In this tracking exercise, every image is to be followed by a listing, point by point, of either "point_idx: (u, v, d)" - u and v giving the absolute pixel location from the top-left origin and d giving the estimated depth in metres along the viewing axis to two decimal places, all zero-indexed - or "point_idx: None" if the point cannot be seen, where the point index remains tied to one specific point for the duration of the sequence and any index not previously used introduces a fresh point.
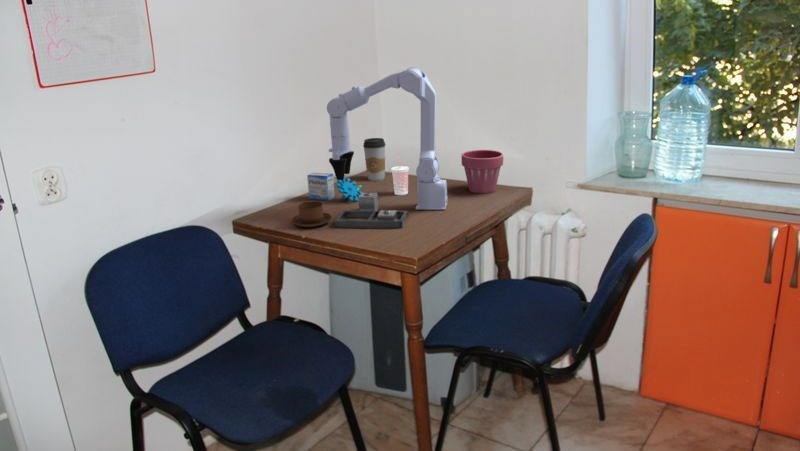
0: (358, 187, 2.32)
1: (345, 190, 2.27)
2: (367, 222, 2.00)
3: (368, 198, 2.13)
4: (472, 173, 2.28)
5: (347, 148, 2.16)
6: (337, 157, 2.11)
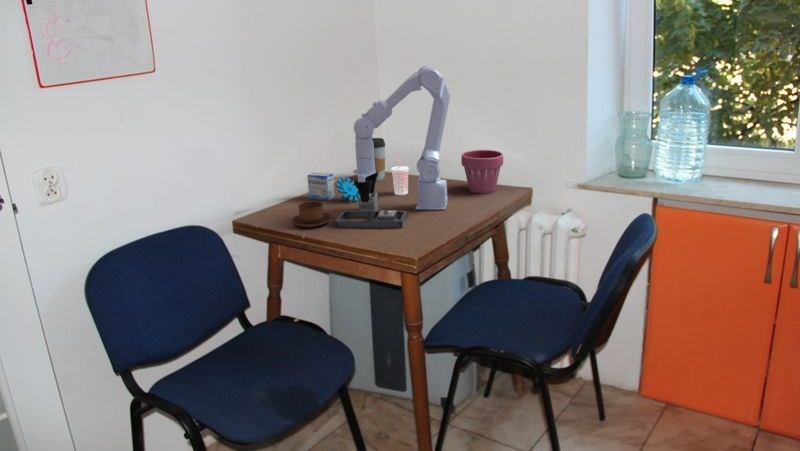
0: None
1: (345, 190, 2.27)
2: (367, 222, 2.00)
3: None
4: (472, 173, 2.28)
5: (372, 170, 2.11)
6: (363, 179, 2.06)
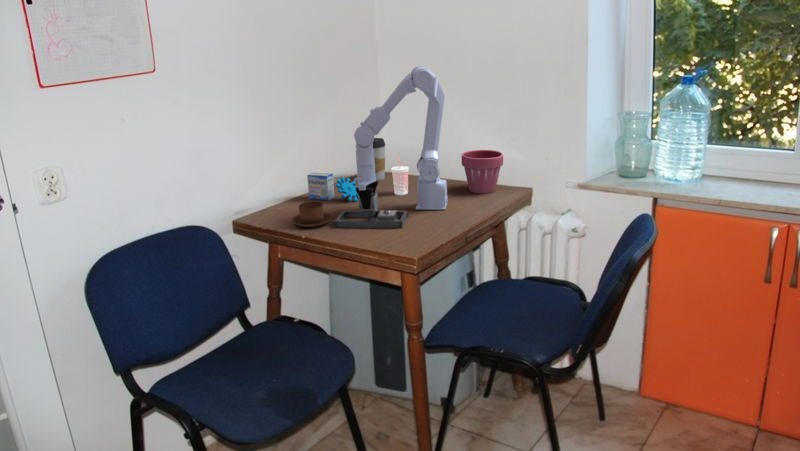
0: None
1: (344, 190, 2.27)
2: (367, 222, 2.00)
3: None
4: (472, 173, 2.28)
5: (373, 178, 2.12)
6: (363, 187, 2.07)
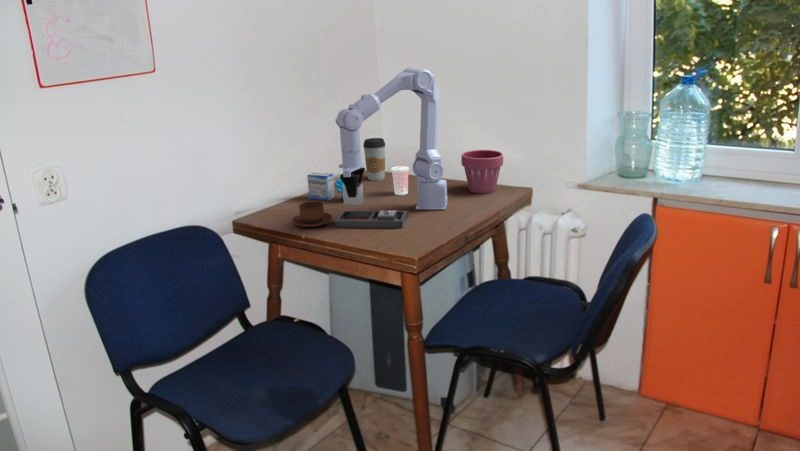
0: None
1: None
2: (367, 222, 2.00)
3: None
4: (472, 173, 2.28)
5: (359, 164, 1.99)
6: (348, 174, 1.95)
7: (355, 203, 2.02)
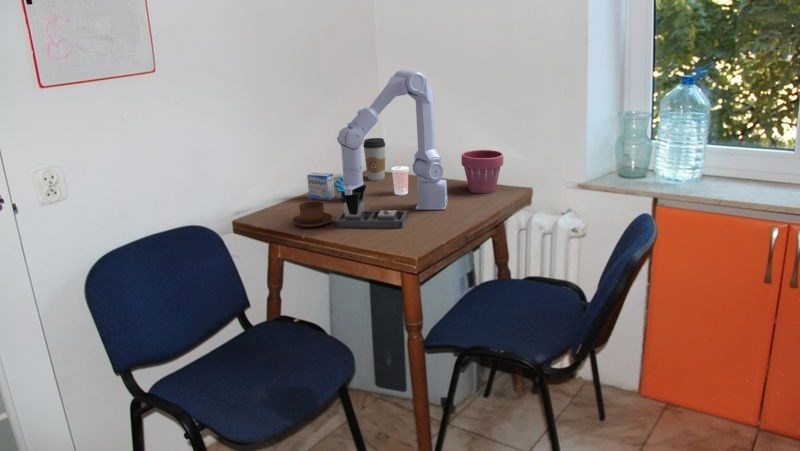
0: None
1: (343, 190, 2.28)
2: (367, 222, 2.00)
3: None
4: (472, 173, 2.28)
5: (360, 181, 2.01)
6: (349, 192, 1.96)
7: None
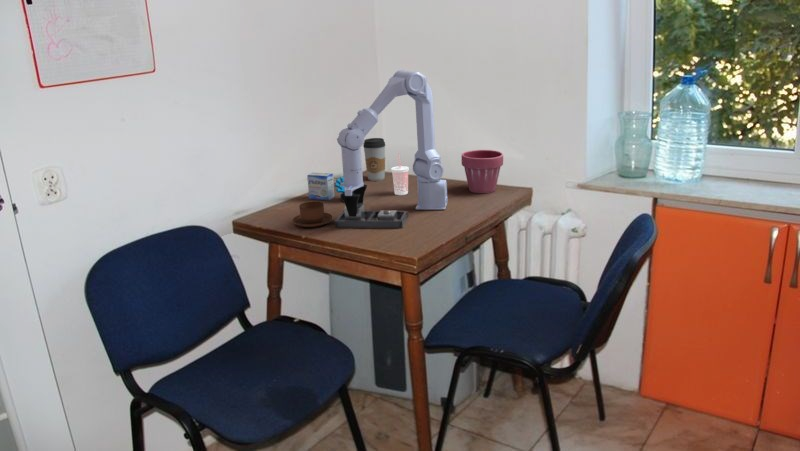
0: None
1: (343, 190, 2.28)
2: (367, 222, 2.00)
3: None
4: (472, 173, 2.28)
5: (360, 182, 2.01)
6: (350, 193, 1.96)
7: None
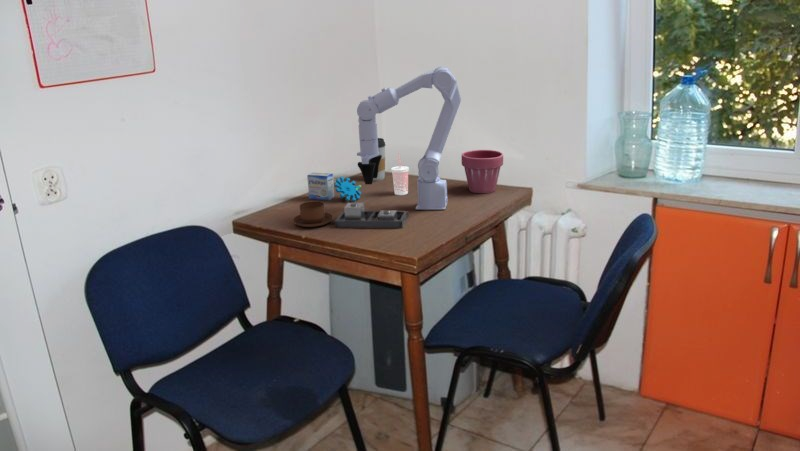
0: (357, 187, 2.33)
1: (342, 189, 2.28)
2: (367, 222, 2.00)
3: (354, 209, 2.03)
4: (472, 173, 2.28)
5: (376, 152, 2.11)
6: (366, 161, 2.07)
7: None
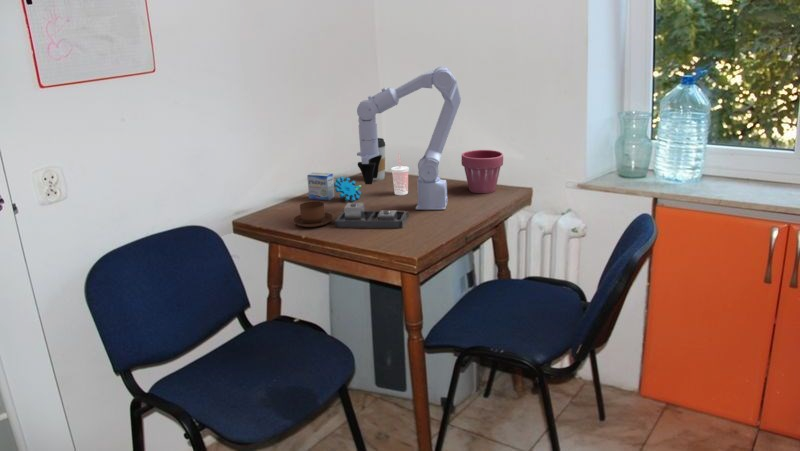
0: (357, 187, 2.33)
1: (342, 189, 2.28)
2: (367, 222, 2.00)
3: (354, 209, 2.03)
4: (472, 173, 2.28)
5: (376, 152, 2.11)
6: (366, 161, 2.07)
7: None
